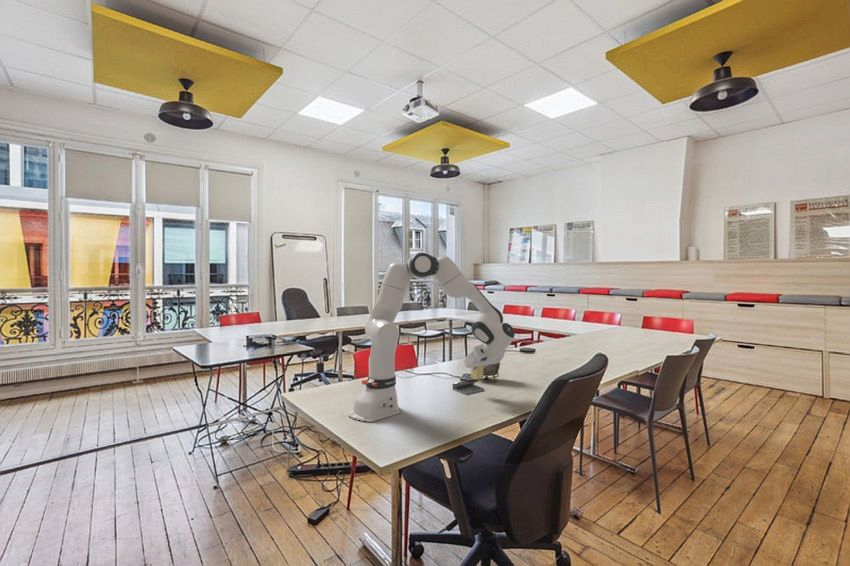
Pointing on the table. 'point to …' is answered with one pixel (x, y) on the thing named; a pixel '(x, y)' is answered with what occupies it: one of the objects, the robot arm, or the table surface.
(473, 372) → the tan wooden block
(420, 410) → the table surface
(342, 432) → the table surface
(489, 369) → the tabletop clock
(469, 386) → the fixed leaf
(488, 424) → the table surface
